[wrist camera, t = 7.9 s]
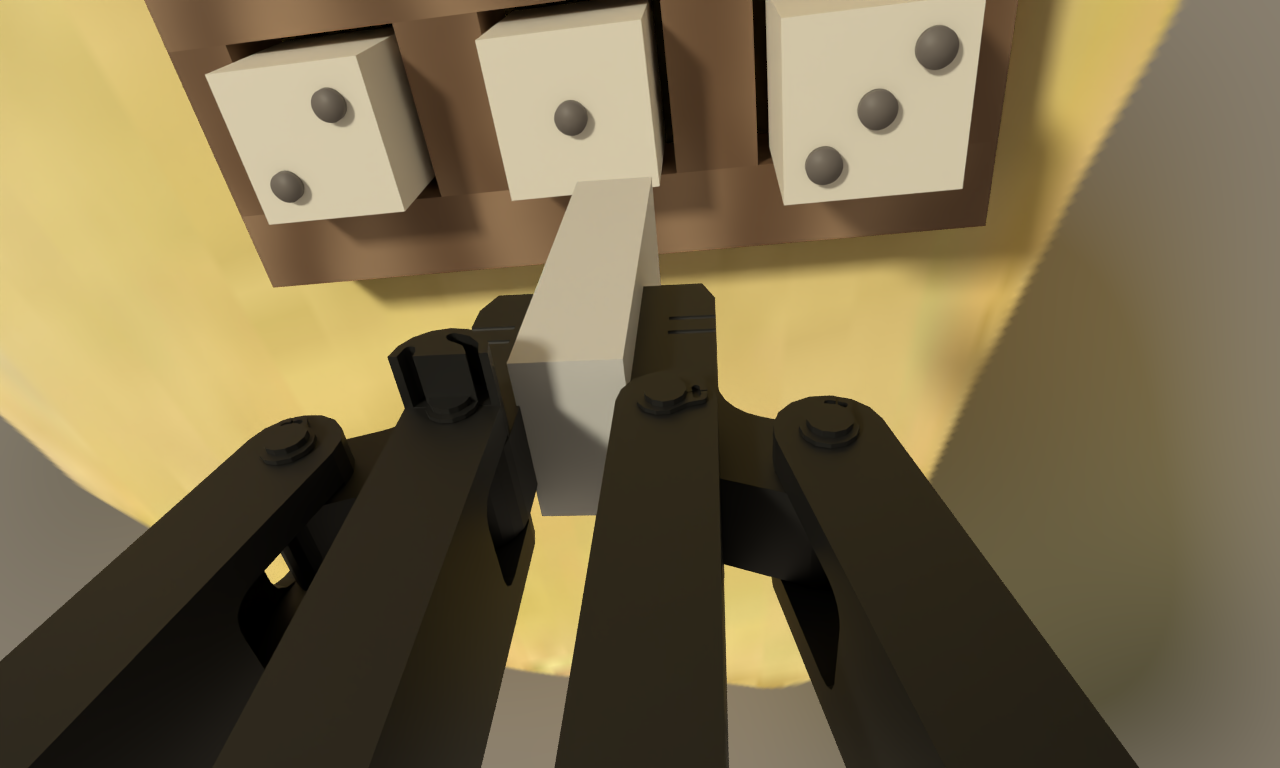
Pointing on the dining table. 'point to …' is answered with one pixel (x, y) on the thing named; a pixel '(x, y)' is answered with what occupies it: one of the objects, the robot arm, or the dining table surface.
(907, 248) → the dining table surface
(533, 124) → the cream block
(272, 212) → the key two
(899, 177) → the key three
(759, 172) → the keyboard base
